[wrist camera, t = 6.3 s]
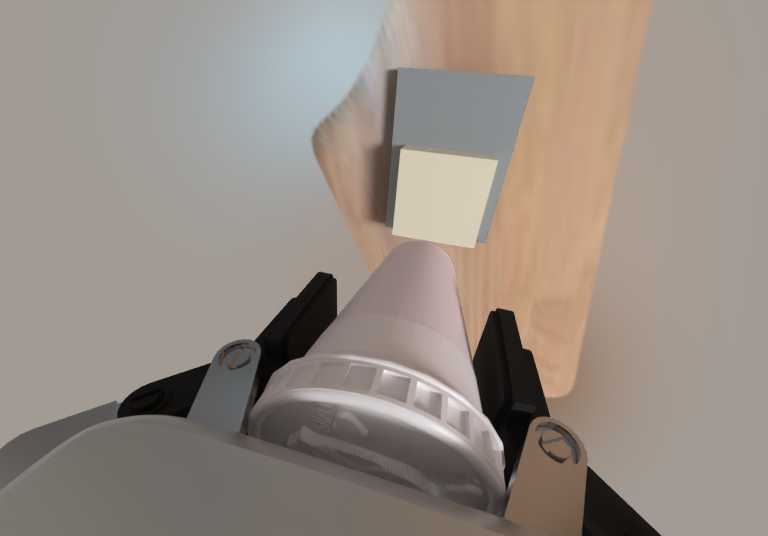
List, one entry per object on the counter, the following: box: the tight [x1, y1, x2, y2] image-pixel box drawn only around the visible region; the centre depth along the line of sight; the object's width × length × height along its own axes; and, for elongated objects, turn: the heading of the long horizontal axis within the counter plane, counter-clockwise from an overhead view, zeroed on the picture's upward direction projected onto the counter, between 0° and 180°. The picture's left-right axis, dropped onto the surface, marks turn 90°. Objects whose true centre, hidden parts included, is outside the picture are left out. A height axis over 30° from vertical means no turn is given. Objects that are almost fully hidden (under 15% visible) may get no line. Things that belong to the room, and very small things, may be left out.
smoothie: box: [247, 241, 507, 517], centre depth 9 cm, size 6×6×14 cm
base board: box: [385, 67, 535, 249], centre depth 28 cm, size 16×12×4 cm
